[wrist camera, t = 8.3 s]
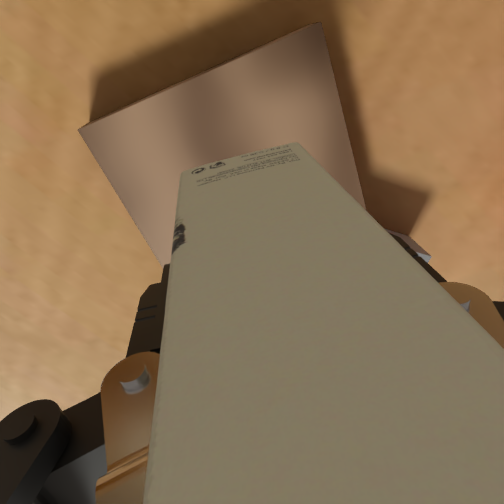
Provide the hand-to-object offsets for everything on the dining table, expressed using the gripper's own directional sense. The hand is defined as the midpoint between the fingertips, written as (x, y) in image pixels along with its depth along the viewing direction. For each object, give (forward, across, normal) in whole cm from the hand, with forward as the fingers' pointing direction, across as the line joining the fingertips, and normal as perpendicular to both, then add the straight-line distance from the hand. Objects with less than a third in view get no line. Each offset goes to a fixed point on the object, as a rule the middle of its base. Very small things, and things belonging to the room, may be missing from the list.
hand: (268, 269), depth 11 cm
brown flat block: (+11, 0, 0) cm, 11 cm away
